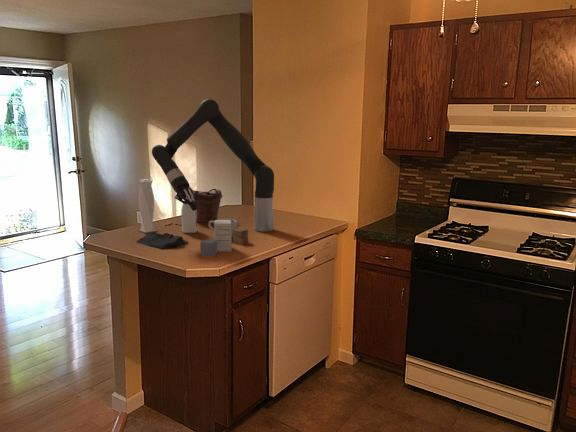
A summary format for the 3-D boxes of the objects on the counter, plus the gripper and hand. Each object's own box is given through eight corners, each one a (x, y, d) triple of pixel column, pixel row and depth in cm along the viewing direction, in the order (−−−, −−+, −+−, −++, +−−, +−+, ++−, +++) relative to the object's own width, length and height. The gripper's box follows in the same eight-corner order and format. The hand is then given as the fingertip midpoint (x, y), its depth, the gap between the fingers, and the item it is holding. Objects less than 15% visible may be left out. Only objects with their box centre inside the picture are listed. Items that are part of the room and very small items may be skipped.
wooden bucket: (229, 218, 283) (229, 187, 279) (206, 225, 266) (205, 192, 263) (206, 215, 292) (205, 185, 289) (181, 221, 276) (180, 189, 272)
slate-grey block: (207, 252, 216) (207, 239, 214) (217, 254, 214) (216, 240, 212) (200, 255, 211) (200, 241, 210) (210, 257, 209) (210, 243, 208)
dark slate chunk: (159, 237, 242) (159, 227, 241) (191, 244, 229) (191, 234, 228) (133, 243, 230) (133, 233, 229) (165, 251, 217) (164, 241, 216)
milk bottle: (193, 233, 247) (193, 194, 243) (179, 232, 249) (178, 193, 245) (199, 230, 255) (198, 191, 251) (185, 229, 256) (184, 190, 252)
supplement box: (214, 247, 224) (214, 219, 222) (231, 247, 225) (231, 219, 223) (214, 251, 217) (214, 223, 214) (231, 251, 218) (231, 223, 215)
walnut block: (240, 240, 237) (240, 228, 236) (248, 242, 234) (248, 229, 233) (232, 242, 233) (232, 229, 232) (240, 244, 230) (240, 231, 229)
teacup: (240, 235, 247) (240, 219, 245) (231, 240, 237) (230, 223, 235) (215, 232, 251) (215, 217, 250) (204, 237, 241) (204, 221, 239)
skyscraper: (159, 231, 251) (158, 176, 245) (145, 234, 245) (143, 177, 239) (150, 228, 256) (148, 174, 251) (136, 231, 250) (134, 175, 245)
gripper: (169, 176, 227) (187, 206, 222) (192, 174, 237) (210, 202, 232) (162, 187, 231) (180, 216, 226) (185, 184, 241) (202, 212, 236)
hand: (195, 209), depth 229 cm, fingers closed
